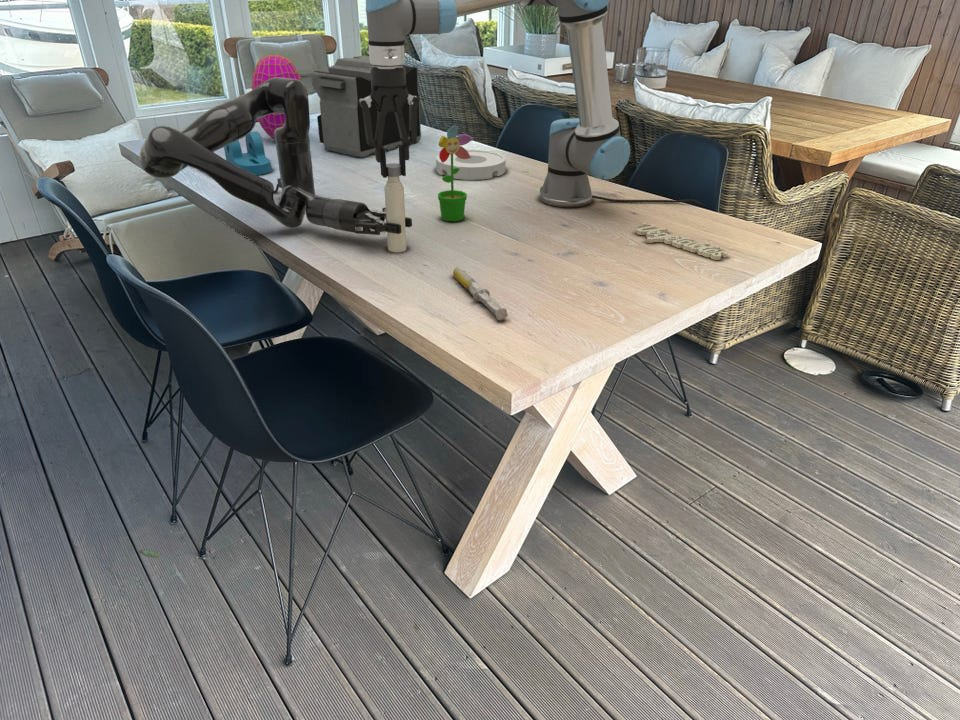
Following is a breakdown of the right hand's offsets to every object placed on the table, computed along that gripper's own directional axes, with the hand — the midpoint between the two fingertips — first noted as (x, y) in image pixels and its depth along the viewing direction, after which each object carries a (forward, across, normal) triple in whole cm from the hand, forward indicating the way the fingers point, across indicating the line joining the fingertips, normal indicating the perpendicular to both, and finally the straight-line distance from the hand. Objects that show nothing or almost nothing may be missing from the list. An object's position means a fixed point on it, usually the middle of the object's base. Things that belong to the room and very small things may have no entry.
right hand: (393, 175), depth 159 cm
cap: (-2, 0, 0) cm, 2 cm away
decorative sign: (+18, +67, -19) cm, 72 cm away
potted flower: (+18, +20, +17) cm, 32 cm away
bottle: (+18, 0, 0) cm, 18 cm away
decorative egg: (+18, -13, +125) cm, 127 cm away
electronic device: (+18, +17, +105) cm, 108 cm away
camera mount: (+18, -28, +86) cm, 92 cm away
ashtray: (+18, +41, +61) cm, 76 cm away
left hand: (+12, +2, -2) cm, 12 cm away
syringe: (+18, +9, -32) cm, 38 cm away
